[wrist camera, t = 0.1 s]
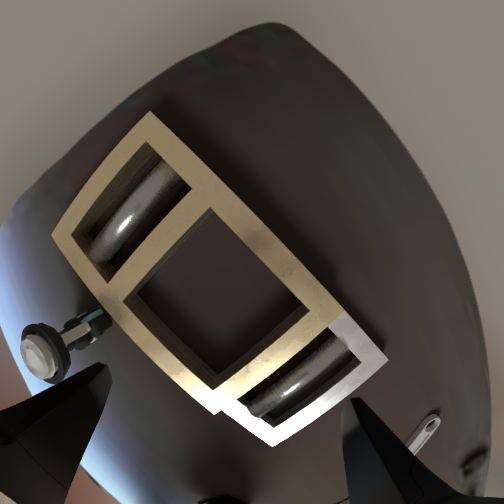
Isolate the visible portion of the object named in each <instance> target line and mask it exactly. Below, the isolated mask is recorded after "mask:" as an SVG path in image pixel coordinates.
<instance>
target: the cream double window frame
mask: <svg viewBox="0 0 504 504" xmlns="http://www.w3.org/2000/svg"><path fill="white" fill-rule="evenodd" d="M156 152H157V153H158V154H159V155H160V156H161V157H162V158H163V159H162V160H161V161H160V162H159V163H158V164H157V165H156V167H155V168H154V169H153V170H152V171H151V172H150V173H149V174H148V175H147V176H146V177H145V178H144V180H143V181H142V182H141V183H140V184H139V185H138V186H137V187H136V189H135V190H134V191H133V192H132V193H131V194H130V196H129V197H128V198H127V199H126V200H125V201H124V203H123V204H122V205H121V206H120V207H119V209H118V210H117V211H116V212H115V214H114V215H113V216H112V217H111V219H110V220H109V221H108V222H107V224H106V225H105V226H104V228H103V229H102V230H101V231H100V233H99V234H98V235H97V237H96V238H95V239H94V241H93V240H92V238H91V237H90V236H89V232H90V231H91V230H92V228H93V227H94V226H95V224H96V223H97V222H98V220H99V219H100V218H101V216H102V215H103V214H104V212H105V211H106V210H107V209H108V207H109V206H110V205H111V204H112V202H113V201H114V200H115V199H116V197H117V196H118V195H119V194H120V193H121V191H122V190H123V189H124V188H125V187H126V186H127V184H128V183H129V182H130V181H131V180H132V179H133V177H134V176H135V175H136V174H137V173H138V172H139V171H140V170H141V168H142V167H143V166H144V165H145V164H146V163H147V162H148V161H149V160H150V159H151V158H152V157H153V156H154V154H155V153H156ZM182 178H183V179H184V181H185V182H186V183H187V184H188V185H189V186H190V187H191V188H192V190H191V191H190V192H189V193H188V194H187V195H186V196H185V197H184V198H183V199H182V200H181V201H180V202H179V203H178V204H177V205H176V206H175V207H174V208H173V209H172V210H171V211H170V213H169V214H168V215H167V216H166V217H165V218H164V219H163V220H162V221H161V222H160V223H159V224H158V226H157V227H156V228H155V229H154V230H153V231H152V232H151V233H150V234H149V236H148V237H147V238H146V239H145V240H144V241H143V242H142V244H141V245H140V246H139V247H138V248H137V249H136V250H135V252H134V253H133V254H132V255H131V256H130V258H129V259H128V260H127V261H126V262H125V263H124V265H123V266H122V267H121V268H120V270H119V271H117V270H116V269H115V268H114V266H113V265H112V264H111V263H110V260H111V258H112V257H113V256H114V255H115V253H116V252H117V251H118V250H119V248H120V247H121V246H122V245H123V244H124V242H125V241H126V240H127V239H128V237H129V236H130V235H131V234H132V233H133V232H134V230H135V229H136V228H137V227H138V226H139V225H140V223H141V222H142V221H143V220H144V219H145V218H146V217H147V215H148V214H149V213H150V212H151V211H152V210H153V209H154V208H155V207H156V205H157V204H158V203H159V202H160V201H161V200H162V199H163V198H164V197H165V196H166V195H167V194H168V193H169V191H170V190H171V189H172V188H173V187H174V186H175V185H176V184H177V183H178V182H179V181H180V180H181V179H182ZM214 212H215V213H216V214H217V215H218V216H219V217H220V218H221V219H222V220H223V221H224V222H225V223H226V224H227V225H228V226H229V227H230V228H231V229H232V230H233V231H234V232H235V233H236V234H237V235H238V236H239V237H240V239H241V240H242V241H243V242H244V243H245V244H246V245H247V246H248V247H249V248H250V249H251V250H252V251H253V252H254V253H255V254H256V255H257V256H258V257H259V258H260V259H261V260H262V261H263V262H264V263H265V264H266V265H267V267H268V268H269V269H270V270H271V271H272V272H273V273H274V274H275V275H276V276H277V277H278V278H279V279H280V280H281V281H282V282H283V283H284V284H285V285H286V286H287V287H288V288H289V289H290V290H291V291H292V292H293V293H294V295H295V296H296V297H297V298H298V299H299V300H300V301H301V302H302V304H301V305H300V306H299V307H298V308H297V309H296V310H294V311H293V312H292V313H291V314H290V315H289V316H288V317H287V318H286V319H284V320H283V321H282V322H281V323H280V324H279V325H278V326H276V327H275V328H274V329H273V330H272V331H271V332H270V333H268V334H267V335H266V336H265V337H264V338H263V339H261V340H260V341H259V342H258V343H257V344H255V345H254V346H253V347H252V348H251V349H249V350H248V351H247V352H246V353H245V354H243V355H242V356H241V357H240V358H238V359H237V360H236V361H235V362H234V363H232V364H231V365H230V366H229V367H227V368H226V369H225V370H224V371H222V372H221V373H220V374H217V373H216V372H214V371H213V370H212V369H211V368H210V367H209V366H208V365H207V364H206V363H204V362H203V361H202V360H201V359H200V358H199V357H198V356H197V355H196V354H195V353H194V352H193V351H192V350H191V349H190V348H189V347H187V346H186V345H185V344H184V343H183V342H182V341H181V340H180V339H179V338H178V337H177V336H176V335H175V334H174V333H173V332H172V331H171V330H170V329H169V328H168V327H167V326H166V325H165V324H164V323H163V321H162V320H161V319H160V318H159V317H158V316H157V315H156V314H155V313H154V312H153V311H152V310H151V309H150V308H149V307H148V306H147V304H146V303H145V302H144V301H143V300H142V299H141V298H140V297H139V296H138V294H137V293H138V292H139V291H140V290H141V288H142V287H143V286H144V285H145V284H146V283H147V282H148V281H149V280H150V279H151V277H152V276H153V275H154V274H155V273H156V272H157V271H158V270H159V269H160V268H161V267H162V266H163V264H164V263H165V262H166V261H167V260H168V259H169V258H170V257H171V256H172V255H173V254H174V253H175V252H176V251H177V250H178V249H179V247H180V246H181V245H182V244H183V243H184V242H185V241H186V240H187V239H188V238H189V237H190V236H191V235H192V234H193V233H194V232H195V231H196V230H197V229H198V228H199V227H200V226H201V225H202V224H203V223H204V222H205V221H206V220H207V219H208V218H209V217H210V216H211V215H212V214H213V213H214ZM51 236H52V238H53V239H54V241H55V242H56V244H57V245H58V247H59V248H60V250H61V251H62V253H63V254H64V256H65V257H66V259H67V260H68V261H69V263H70V264H71V266H72V267H73V268H74V270H75V271H76V272H77V274H78V275H79V277H80V278H81V279H82V281H83V282H84V283H85V284H86V286H87V287H88V288H89V290H90V291H91V292H92V293H93V295H94V296H95V297H96V298H97V300H98V301H99V302H100V303H101V305H102V306H103V307H104V308H105V309H106V311H107V312H108V313H109V314H110V315H111V316H112V318H113V319H114V320H115V321H116V322H117V323H118V324H119V325H120V327H121V328H122V329H123V330H124V331H125V332H126V333H127V334H128V335H129V336H130V338H131V339H132V340H133V341H134V342H135V343H136V344H137V345H138V346H139V347H140V348H141V349H142V350H143V351H144V352H145V353H146V354H147V355H148V356H149V357H150V358H151V359H152V360H153V361H154V362H155V363H156V364H157V365H158V366H159V367H160V368H161V369H162V370H163V371H164V372H165V373H166V374H167V375H169V376H170V377H171V378H172V379H173V380H174V381H175V382H176V383H177V384H178V385H180V386H181V387H182V388H183V389H184V390H185V391H186V392H188V393H189V394H190V395H191V396H192V397H193V398H195V399H196V400H197V401H198V402H199V403H201V404H202V405H203V406H204V407H205V408H207V409H208V410H209V411H210V412H212V413H213V414H216V413H217V412H219V411H220V410H223V411H224V412H225V413H227V414H228V415H229V416H231V417H232V418H233V419H234V420H236V421H237V422H238V423H240V424H241V425H242V426H244V427H245V428H247V429H248V430H249V431H251V432H252V433H254V434H255V435H256V436H258V437H259V438H261V439H262V440H264V441H265V442H267V443H268V444H270V445H271V446H274V445H276V444H277V443H279V442H281V441H282V440H284V439H286V438H287V437H289V436H290V435H292V434H294V433H295V432H297V431H298V430H300V429H301V428H303V427H304V426H306V425H307V424H309V423H310V422H312V421H313V420H315V419H316V418H318V417H319V416H321V415H322V414H323V413H325V412H326V411H327V410H329V409H330V408H332V407H333V406H334V405H336V404H337V403H338V402H340V401H341V400H342V399H343V398H345V397H346V396H347V395H349V394H350V393H351V392H352V391H354V390H355V389H356V388H357V387H358V386H360V385H361V384H362V383H363V382H364V381H366V380H367V379H368V378H369V377H370V376H371V375H373V374H374V373H375V372H376V371H377V370H378V369H379V368H380V367H381V366H383V365H384V364H385V363H386V362H387V361H388V359H387V358H386V356H385V355H384V354H383V353H382V352H381V351H380V350H379V348H378V347H377V346H376V345H375V344H374V343H373V342H372V340H371V339H370V338H369V337H368V336H367V335H366V334H365V333H364V331H363V330H362V329H361V328H360V327H359V326H358V325H357V324H356V322H355V321H354V320H353V319H352V318H351V317H350V316H349V315H348V314H347V312H346V311H345V310H344V309H343V308H342V307H341V306H340V304H339V303H338V302H337V301H336V300H335V299H334V298H333V297H332V296H331V295H330V293H329V292H328V291H327V290H326V289H325V288H324V287H323V286H322V285H321V284H320V283H319V282H318V280H317V279H316V278H315V277H314V276H313V275H312V274H311V273H310V272H309V271H308V270H307V269H306V268H305V266H304V265H303V264H302V263H301V262H300V261H299V260H298V259H297V258H296V257H295V256H294V255H293V254H292V253H291V252H290V251H289V249H288V248H287V247H286V246H285V245H284V244H283V243H282V242H281V241H280V240H279V239H278V238H277V237H276V236H275V235H274V234H273V233H272V232H271V231H270V230H269V229H268V227H267V226H266V225H265V224H264V223H263V222H262V221H261V220H260V219H259V218H258V217H257V216H256V215H255V214H254V213H253V212H252V211H251V210H250V209H249V208H248V207H247V206H246V205H245V204H244V203H243V202H242V201H241V200H240V199H239V198H238V197H237V196H236V195H235V194H234V193H233V192H232V191H231V190H230V189H229V188H228V187H227V186H226V185H225V184H224V183H223V182H222V181H221V180H220V179H219V178H218V177H217V176H216V175H215V174H214V173H213V172H212V171H211V170H210V169H209V168H208V167H207V166H206V165H205V164H204V163H203V162H202V161H201V160H200V159H199V158H198V157H197V156H196V155H195V154H194V153H193V152H192V151H191V150H190V149H189V148H188V147H187V146H186V145H185V144H184V143H183V142H182V141H181V140H180V139H179V138H178V137H177V136H176V135H175V134H174V133H173V132H172V131H171V130H169V129H168V128H167V127H166V126H165V125H164V124H163V123H162V122H161V121H160V120H159V119H158V118H157V117H156V116H155V115H154V114H153V113H152V112H151V111H149V112H148V113H147V114H146V115H145V116H144V117H143V118H142V119H141V120H140V121H139V122H138V123H137V124H136V125H135V126H134V127H133V128H132V129H131V131H130V132H129V133H128V134H127V135H126V136H125V137H124V138H123V139H122V140H121V142H120V143H119V144H118V145H117V146H116V147H115V148H114V149H113V151H112V152H111V153H110V154H109V155H108V157H107V158H106V159H105V160H104V161H103V163H102V164H101V165H100V166H99V168H98V169H97V170H96V171H95V173H94V174H93V175H92V176H91V178H90V179H89V180H88V182H87V183H86V184H85V186H84V187H83V188H82V190H81V191H80V192H79V194H78V195H77V197H76V198H75V199H74V201H73V202H72V204H71V205H70V207H69V208H68V210H67V211H66V213H65V214H64V216H63V217H62V219H61V220H60V222H59V223H58V225H57V227H56V228H55V230H54V231H53V233H52V235H51ZM326 327H328V328H329V329H330V330H331V331H332V332H333V333H334V335H333V336H331V337H330V338H329V339H328V340H327V341H326V342H325V343H324V344H322V345H321V346H320V347H319V348H318V349H317V350H315V351H314V352H313V353H312V354H311V355H309V356H308V357H307V358H306V359H305V360H303V361H302V362H301V363H300V364H298V365H297V366H296V367H295V368H293V369H292V370H291V371H290V372H288V373H287V374H286V375H285V376H283V377H282V378H281V379H279V380H278V381H277V382H275V383H274V384H273V385H272V386H270V387H269V388H267V389H266V390H265V391H263V392H262V393H261V394H259V395H258V396H256V397H255V398H254V399H252V400H251V401H249V400H247V399H246V398H245V397H244V396H242V395H243V394H245V393H246V392H247V391H249V390H250V389H252V388H253V387H254V386H256V385H257V384H258V383H260V382H261V381H262V380H264V379H265V378H266V377H267V376H269V375H270V374H271V373H273V372H274V371H275V370H276V369H278V368H279V367H280V366H281V365H283V364H284V363H285V362H286V361H288V360H289V359H290V358H291V357H293V356H294V355H295V354H296V353H297V352H299V351H300V350H301V349H302V348H303V347H305V346H306V345H307V344H308V343H309V342H310V341H312V340H313V339H314V338H315V337H316V336H317V335H318V334H320V333H321V332H322V331H323V330H324V329H325V328H326ZM348 350H350V351H351V352H352V353H353V354H354V355H355V356H356V358H354V359H353V360H352V361H351V362H350V363H349V364H348V365H346V366H345V367H344V368H343V369H342V370H340V371H339V372H338V373H337V374H336V375H334V376H333V377H332V378H331V379H329V380H328V381H327V382H326V383H324V384H323V385H322V386H321V387H319V388H318V389H317V390H315V391H314V392H313V393H311V394H310V395H309V396H307V397H306V398H305V399H303V400H302V401H301V402H299V403H298V404H296V405H295V406H294V407H292V408H291V409H289V410H288V411H286V412H285V413H284V414H282V415H281V416H279V417H278V418H276V419H275V420H273V419H272V418H270V417H269V416H268V415H266V413H268V412H269V411H271V410H272V409H274V408H275V407H276V406H278V405H279V404H281V403H282V402H284V401H285V400H286V399H288V398H289V397H290V396H292V395H293V394H295V393H296V392H297V391H299V390H300V389H301V388H303V387H304V386H305V385H306V384H308V383H309V382H310V381H312V380H313V379H314V378H315V377H317V376H318V375H319V374H320V373H322V372H323V371H324V370H325V369H327V368H328V367H329V366H330V365H331V364H333V363H334V362H335V361H336V360H337V359H338V358H340V357H341V356H342V355H343V354H344V353H345V352H347V351H348Z"/></svg>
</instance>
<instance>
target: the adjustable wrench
mask: <svg viewBox="0 0 504 504" xmlns="http://www.w3.org/2000/svg"><path fill="white" fill-rule="evenodd" d="M433 420H434V422H433V423H432V424H431V425H430V426H428V427H426V426H427V425H428V424H429V423H430V422H431V421H433ZM439 424H440V419H439V417H438V416H437V415H436V414H432V415H430V416H428V417H427V418H425V419H424V421H423V422H422V423H421V424H420V426H419V427H418V428H417V430H416V431H415V432H414V434H413V435H412V436H411V437H410V439H409V440H408V441H407V442H406V444H405V445H406V446H407V448H408V449H409V450H410V451H411V452H412V453H413V454H414V455H415V454H416V453H417V452H418V451H419V449H420V448H421V447H422V446H423V445H424V443H425V442H426V441H427V440H428V439H429V437H430V436H431V435H432V434H433V432H434V431H435V430H436V428H437V427H438V426H439ZM340 504H350V503H349V499H348V500H346V501H344V502H342V503H340Z"/></svg>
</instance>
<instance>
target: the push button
mask: <svg viewBox="0 0 504 504" xmlns="http://www.w3.org/2000/svg"><path fill="white" fill-rule="evenodd" d="M86 313H87V312H85V313H83V314H81V315H79V316H78V317H77V318H73V319H71V320H69V321H67V322H66V323H65V325H64V328H65V329H64V330H62V331H61V332H59V333H58V332H57V331H56V330H55V329H54V328H52V327H50V326H48V325H46V324H43V323H40V324H30V325H28V326H26V327H25V328H24V330H23V332H22V337H21V342H22V343H21V345H20V349H21V355H22V358H23V361H24V363H25V365H26V367H27V368H28V370H29V371H30V372H31V373H32V374H33V375H34V376H35V377H37V378H39V379H41V380H42V379H43V380H44V381H46V382H48V383H50V384H57V383H59V382H61V381H62V380H63V379H64V377H65V375H66V373H67V371H68V369H69V367H70V365H71V360H70V353H69V351H71V350H73V349H74V348H75V349H76V350H82V349H84V348H85V347H87V346H88V345H89V344H90V343H92V342H94V341H95V340H97V339H98V338H99V337H101V336H102V335H101V336H99V337H98V338H97V339H96V338H95V337H96V336H97V335H99V334H100V333H102V332H103V331H105V330H106V329H108V328H109V327H110V326H112V325H111V323H110V322H109V320H108V319H107V317H106V315H105V314H104V312H103V311H102V309H101V308H100V309H98V310H97V311H95V312H93V313H91V314H89V315H88V316H86V317H85V314H86ZM36 333H37V334H36Z"/></svg>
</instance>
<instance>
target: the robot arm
mask: <svg viewBox="0 0 504 504" xmlns="http://www.w3.org/2000/svg"><path fill="white" fill-rule="evenodd" d="M111 386H112V376H111V373H110V370H109V367H108V365H107V364H104V363H101V362H97V363H95V364H93V365H91V366H89V367H87V368H86V369H84V370H82V371H80V372H78V373H76V374H74V375H72V376H71V377H69V378H67V379H65V380H63V381H61V382H59V383H57V384H55V385H54V386H52V387H50V388H48V389H46V390H44V391H42V392H40V393H38V394H36V395H34V396H32V398H31V397H30V398H28V399H26V400H24V401H22V402H20V403H18V404H16V405H14V406H11V407H9V408H6V409H3V410H1V411H0V504H64V502H65V499H66V496H67V494H68V490H69V488H70V486H71V483H72V481H73V478H74V476H75V473H76V471H77V468H78V466H79V464H80V461H81V459H82V457H83V454H84V452H85V450H86V448H87V445H88V443H89V441H90V439H91V436H92V434H93V432H94V430H95V428H96V425H97V423H98V421H99V419H100V417H101V414H102V412H103V409H104V406H105V403H106V400H107V397H108V394H109V391H110V389H111ZM342 446H343V456H344V463H345V471H346V478H347V486H348V494H349V503H350V504H504V498H497V497H479V496H468V495H464V494H461V493H459V492H457V491H456V490H455V489H453V488H452V487H451V486H449V485H448V484H447V483H445V482H444V481H443V480H442V479H440V478H439V477H438V476H437V475H435V474H434V473H433V472H432V471H431V470H429V469H428V468H427V467H426V466H425V465H424V464H423V463H422V462H421V461H420V460H419V459H418V458H417V457H416V456H414V454H413V453H412V452H411V451H410V450H409V449H408V448H407V446H406V445H405V444H404V443H403V442H402V441H401V440H400V439H399V438H398V437H397V436H396V435H395V434H394V433H393V432H392V431H391V430H390V429H389V427H388V426H387V425H386V424H385V423H384V422H383V421H382V420H381V419H380V418H379V417H378V416H377V415H376V414H375V413H374V411H373V410H372V409H371V408H370V407H369V406H368V405H367V404H366V403H365V402H364V401H363V400H362V399H361V398H360V397H350V398H349V399H348V400H347V402H346V404H345V406H344V408H343V411H342ZM199 504H244V503H242V502H240V501H238V500H236V499H234V498H232V497H230V496H228V495H222V496H219V497H217V498H214V499H211V500H208V501H205V502H202V503H199Z"/></svg>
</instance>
